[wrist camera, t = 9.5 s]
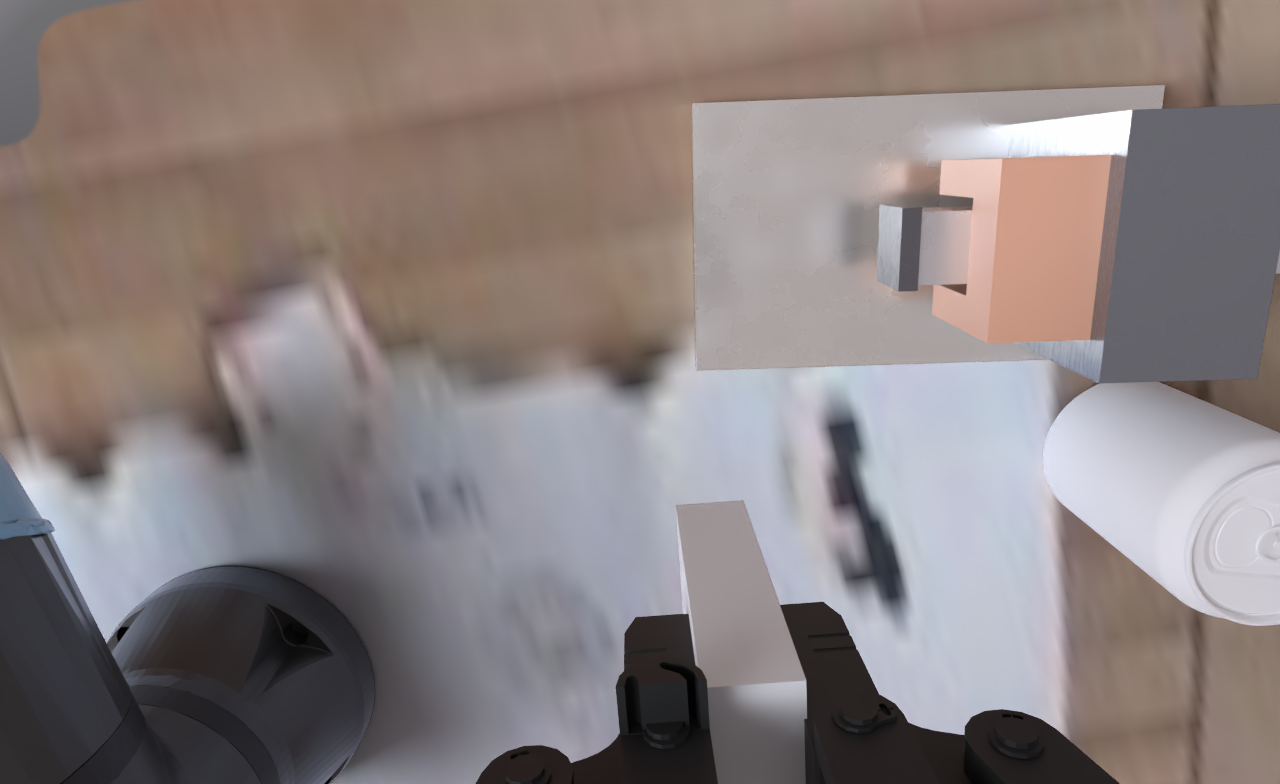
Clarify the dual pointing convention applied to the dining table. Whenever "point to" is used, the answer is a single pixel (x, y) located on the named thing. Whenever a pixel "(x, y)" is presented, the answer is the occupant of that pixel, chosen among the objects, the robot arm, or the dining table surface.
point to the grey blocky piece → (910, 175)
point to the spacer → (1027, 247)
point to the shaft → (925, 246)
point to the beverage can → (1176, 492)
